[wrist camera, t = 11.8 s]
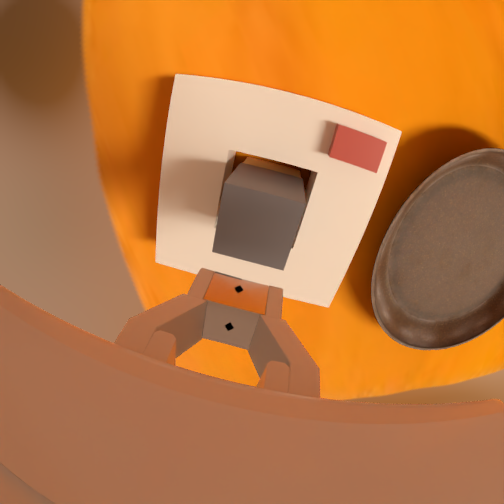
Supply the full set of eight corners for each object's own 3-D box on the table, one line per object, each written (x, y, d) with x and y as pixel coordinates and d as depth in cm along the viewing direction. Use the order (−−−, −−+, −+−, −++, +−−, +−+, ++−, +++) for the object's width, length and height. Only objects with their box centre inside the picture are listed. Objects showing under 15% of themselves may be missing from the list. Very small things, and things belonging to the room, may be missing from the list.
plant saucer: (464, 341, 26) (472, 360, 23) (326, 308, 25) (328, 333, 23) (551, 200, 15) (569, 214, 12) (423, 92, 15) (445, 93, 12)
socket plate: (192, 76, 16) (170, 73, 13) (386, 126, 16) (406, 133, 13) (169, 243, 24) (151, 267, 20) (325, 284, 24) (329, 314, 20)
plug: (246, 154, 19) (224, 182, 13) (301, 169, 19) (305, 203, 13) (235, 204, 21) (211, 252, 15) (286, 218, 21) (283, 270, 15)
